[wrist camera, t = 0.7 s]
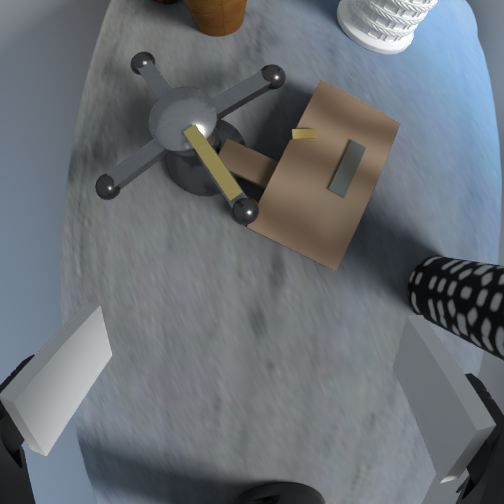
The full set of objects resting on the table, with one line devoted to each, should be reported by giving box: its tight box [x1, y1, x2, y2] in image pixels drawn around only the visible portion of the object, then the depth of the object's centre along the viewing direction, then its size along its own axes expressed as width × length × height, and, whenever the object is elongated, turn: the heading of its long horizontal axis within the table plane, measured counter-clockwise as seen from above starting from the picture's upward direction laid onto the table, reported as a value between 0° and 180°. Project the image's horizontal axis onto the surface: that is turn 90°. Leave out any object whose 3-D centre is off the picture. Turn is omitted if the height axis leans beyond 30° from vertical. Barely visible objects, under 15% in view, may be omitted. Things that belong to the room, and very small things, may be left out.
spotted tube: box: [408, 256, 504, 361], centre depth 27 cm, size 8×8×20 cm
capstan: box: [95, 52, 286, 225], centre depth 30 cm, size 22×22×11 cm
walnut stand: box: [219, 80, 400, 271], centre depth 34 cm, size 18×16×6 cm
